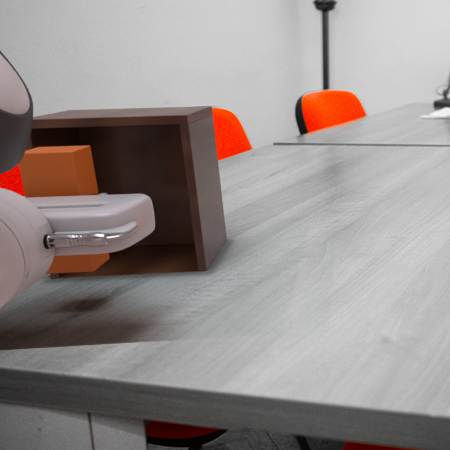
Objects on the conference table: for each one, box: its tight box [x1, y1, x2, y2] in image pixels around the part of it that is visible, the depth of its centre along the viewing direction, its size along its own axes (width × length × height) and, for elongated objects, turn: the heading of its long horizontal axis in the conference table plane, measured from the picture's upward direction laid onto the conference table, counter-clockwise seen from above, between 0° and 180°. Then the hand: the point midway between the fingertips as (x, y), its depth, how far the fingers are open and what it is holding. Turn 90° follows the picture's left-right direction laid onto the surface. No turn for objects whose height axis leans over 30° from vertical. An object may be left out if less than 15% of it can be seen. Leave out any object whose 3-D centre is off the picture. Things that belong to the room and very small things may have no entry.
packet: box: [18, 146, 110, 275], centre depth 57 cm, size 5×4×12 cm
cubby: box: [25, 105, 228, 280], centre depth 71 cm, size 18×12×20 cm, turn 95°
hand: (68, 202), depth 57 cm, fingers closed on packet, 5 cm apart
